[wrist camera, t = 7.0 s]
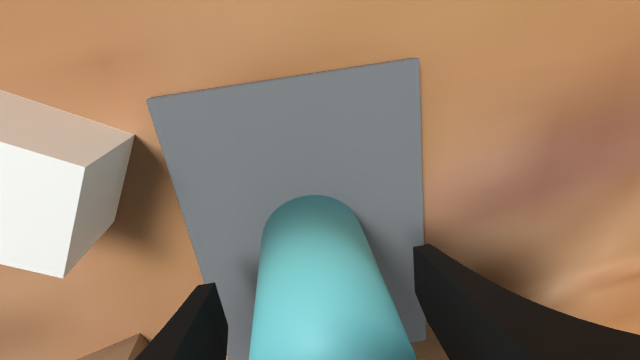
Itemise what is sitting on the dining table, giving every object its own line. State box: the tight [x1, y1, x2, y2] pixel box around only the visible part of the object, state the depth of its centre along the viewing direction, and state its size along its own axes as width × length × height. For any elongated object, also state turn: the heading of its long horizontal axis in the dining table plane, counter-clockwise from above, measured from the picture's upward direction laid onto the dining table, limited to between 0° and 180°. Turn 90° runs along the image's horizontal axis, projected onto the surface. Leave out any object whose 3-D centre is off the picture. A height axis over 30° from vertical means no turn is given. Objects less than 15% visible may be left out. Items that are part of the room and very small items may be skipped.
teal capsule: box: [249, 195, 417, 360], centre depth 12 cm, size 4×4×7 cm
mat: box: [146, 58, 426, 360], centre depth 16 cm, size 14×10×1 cm
